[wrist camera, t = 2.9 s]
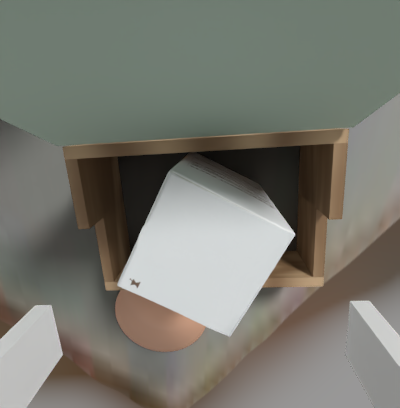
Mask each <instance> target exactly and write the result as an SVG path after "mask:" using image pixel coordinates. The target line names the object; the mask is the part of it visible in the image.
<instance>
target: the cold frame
mask: <svg viewBox="0 0 400 408" xmlns="http://www.w3.org/2000/svg"><path fill="white" fill-rule="evenodd" d="M348 135H349V129H338V128H334V129H318V130H303V131H287V132H271V133H255V134H239V135H224V136H208V137H192V138H176V139H161V140H145V141H129V142H113V143H98V144H82V145H72V146H65V147H63V152H64V158H65V163H66V168H67V173H68V178H69V183H70V189H71V194H72V199H73V204H74V209H75V214H76V220H77V225H78V229H90V228H91V227H92V226H94V225H95V230H96V236H97V242H98V247H99V253H100V259H101V264H102V270H103V276H104V281H105V287H106V291H108V290H125V289H123V288H121V287H119V286H118V285H117V284H118V281H119V279H120V277H121V274H122V272H123V270H124V268H125V266H126V264H127V261H128V259H129V257H130V255H131V249H130V242H129V235H128V228H127V221H126V214H125V207H124V200H123V193H122V186H121V179H120V172H119V165H118V158H117V156H133V155H149V154H166V153H183V152H200V151H217V150H234V149H251V148H268V147H284V146H300V160H299V191H298V223H297V251H285V252H284V253H283V255H282V257H281V258H280V260H279V261H278V263H277V265H276V266H275V268H274V269H273V271H272V272H271V274H270V275H269V277H268V279H267V280H266V282H265V283H264V285H263V286H262V287H309V286H323V280H324V264H325V248H326V231H327V218H328V219H329V220H330V219H342V212H343V200H344V187H345V174H346V161H347V148H348Z"/></svg>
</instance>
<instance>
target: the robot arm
mask: <svg viewBox="0 0 400 408" xmlns="http://www.w3.org/2000/svg"><path fill="white" fill-rule="evenodd" d="M62 355H63V353H62V349H61V345H60V340H59V336H58V332H57V328H56V323H55V319H54V315H53V310H52V306H51V305H35V306H34V307H33V308H32V309H31V310H30V311H29V312H28V313H27V314H26V315H25V316H24V317H23V318H22V319H21V320H20V321H19V322H18V323H17V324H16V325H15V326H13V327H12V328H11V329H10V330H9V331H8V332H7V333H6V334H5V335H4V336H3V337H2V338H1V339H0V408H26V407H27V406H28V405H29V403H30V401H31V400H32V399H33V397H34V396H35V394H36V393H37V391H38V390H39V388H40V387H41V386H42V384H43V382H44V381H45V380H46V378H47V377H48V376H49V374H50V373H51V371H52V370H53V368H54V367H55V365H56V364H57V362H58V361H59V359H60V358H61V357H62ZM345 355H346V357H347V359H348V361H349V363H350V365H351V366H352V368H353V370H354V372H355V374H356V376H357V377H358V379H359V381H360V383H361V385H362V386H363V388H364V390H365V392H366V394H367V395H368V397H369V399H370V401H371V403H372V405H373V406H374V408H400V336H399V335H398V334H397V332H396V331H395V330H394V329H393V328H392V327H391V326H390V324H389V323H388V322H387V321H386V320H385V318H384V317H383V316H382V315H381V314H380V313H379V312H378V310H377V309H376V308H375V307H374V306H373V305H372V303H371V302H370V301H350V308H349V320H348V331H347V342H346V354H345Z"/></svg>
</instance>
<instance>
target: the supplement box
mask: <svg viewBox="0 0 400 408" xmlns="http://www.w3.org/2000/svg"><path fill="white" fill-rule="evenodd" d="M294 236H295V233H294V231H293V230H292V229H291V227H290V226H289V224H288V223H287V222H286V220H285V219H284V218H283V216H282V215H281V213H280V212H279V211H278V209H277V208H276V207H275V205H274V204H273V202H272V201H271V200H270V198H269V197H268V195H267V194H266V193H265V191H264V190H263V189H262V187H261V186H260V184H258V183H256V182H254V181H252V180H250V179H248V178H246V177H244V176H242V175H240V174H238V173H236V172H234V171H232V170H230V169H228V168H226V167H224V166H222V165H220V164H218V163H216V162H214V161H212V160H210V159H208V158H206V157H204V156H202V155H200V154H198V153H196V152H190V153H188V155H186V156H185V157H184V158H183V159H182V160H181V161H180V162H179V163H177V164H176V165H175V166H174V167H173V168H172V169H171V170H170V171H169V172H168V173H167V176H166V178H165V180H164V182H163V184H162V187H161V189H160V191H159V193H158V195H157V198H156V200H155V202H154V204H153V206H152V209H151V211H150V213H149V215H148V217H147V220H146V222H145V224H144V226H143V228H142V230H141V232H140V234H139V237H138V239H137V241H136V244H135V246H134V248H133V250H132V252H131V255H130V257H129V259H128V261H127V264H126V266H125V268H124V270H123V272H122V274H121V277H120V279H119V281H118V284H117V285H118V286H119V287H121V288H123V289H125V290H128V291H130V292H132V293H135V294H137V295H139V296H141V297H144V298H146V299H148V300H150V301H153V302H155V303H157V304H159V305H161V306H164V307H166V308H168V309H170V310H172V311H174V312H177V313H179V314H181V315H183V316H185V317H187V318H189V319H191V320H193V321H195V322H197V323H200V324H202V325H204V326H206V327H208V328H210V329H212V330H215V331H217V332H219V333H222V334H224V335H226V336H229V337H230V336H231V335H232V333H233V332H234V330H235V329H236V327H237V325H238V324H239V322H240V321H241V319H242V318H243V316H244V314H245V313H246V311H247V310H248V308H249V307H250V305H251V304H252V302H253V300H254V299H255V297H256V296H257V294H258V293H259V291H260V289H261V288H262V286H263V285H264V283H265V282H266V280H267V279H268V277H269V275H270V274H271V272H272V271H273V269H274V268H275V266H276V265H277V263H278V261H279V260H280V258H281V257H282V255H283V253H284V252H285V250H286V249H287V247H288V245H289V244H290V242H291V241H292V239H293V238H294Z"/></svg>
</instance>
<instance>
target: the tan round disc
mask: <svg viewBox="0 0 400 408" xmlns="http://www.w3.org/2000/svg"><path fill="white" fill-rule="evenodd" d="M115 313H116V318H117V321H118V323H119V326H120V327H121V329H122V330H123V332H124V333H125V334H126V335H127V336H128V337H129V338H130V339H131V340H132V341H133V342H135V343H136V344H138V345H140V346H142V347H144V348H147V349H150V350H153V351H159V352H171V351H177V350H180V349H183V348H186V347H188V346H189V345H191V344H193V343H194V342H195V341H196V340H197V339H198V338H199V337H200V336H201V334H202V333H203V331H204V329H205V327H206V326H204V325H202V324H200V323H197V322H195V321H193V320H191V319H189V318H187V317H185V316H183V315H181V314H179V313H177V312H174V311H172V310H170V309H168V308H166V307H164V306H161V305H159V304H157V303H155V302H153V301H150V300H148V299H146V298H144V297H141V296H139V295H137V294H135V293H132V292H130V291H128V290H120V292H119V294H118V296H117V299H116V304H115Z"/></svg>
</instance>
